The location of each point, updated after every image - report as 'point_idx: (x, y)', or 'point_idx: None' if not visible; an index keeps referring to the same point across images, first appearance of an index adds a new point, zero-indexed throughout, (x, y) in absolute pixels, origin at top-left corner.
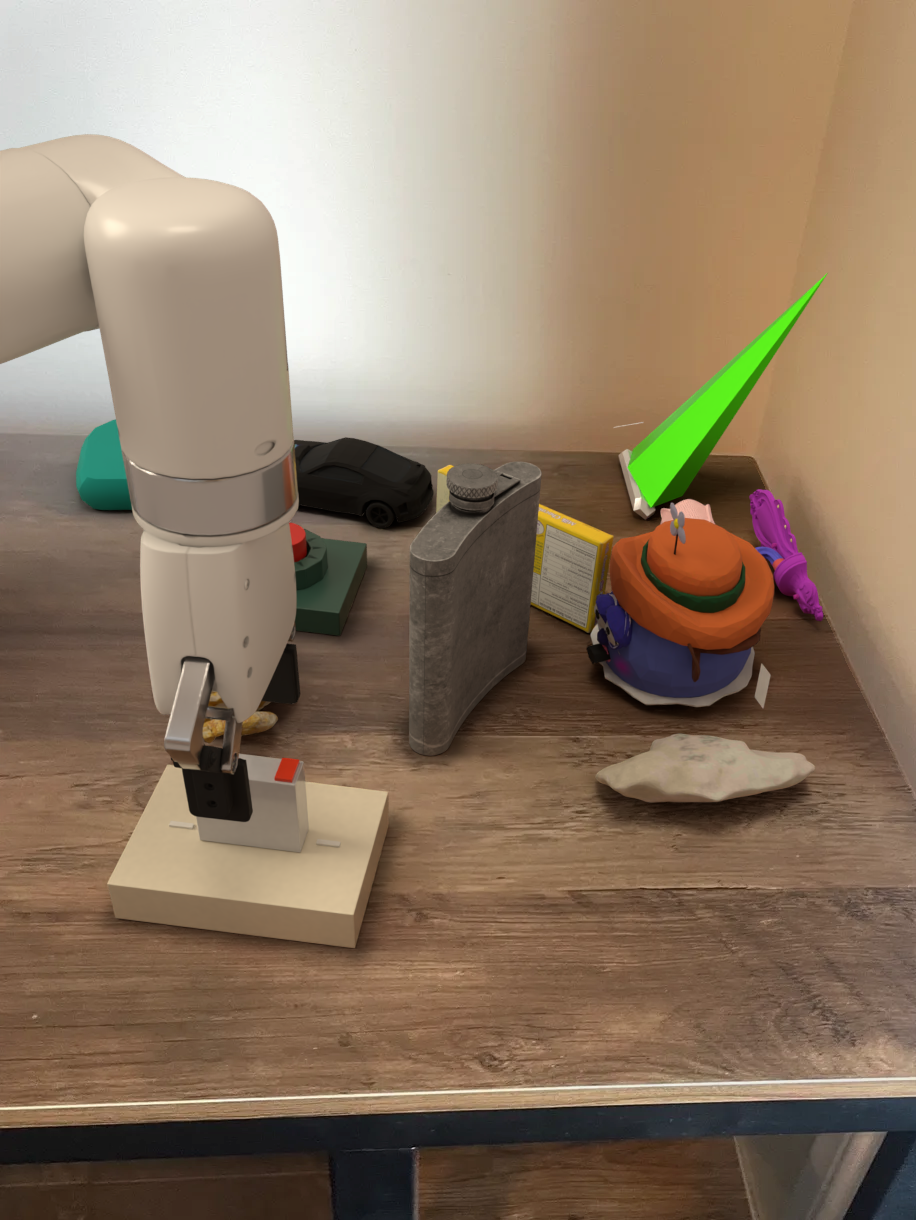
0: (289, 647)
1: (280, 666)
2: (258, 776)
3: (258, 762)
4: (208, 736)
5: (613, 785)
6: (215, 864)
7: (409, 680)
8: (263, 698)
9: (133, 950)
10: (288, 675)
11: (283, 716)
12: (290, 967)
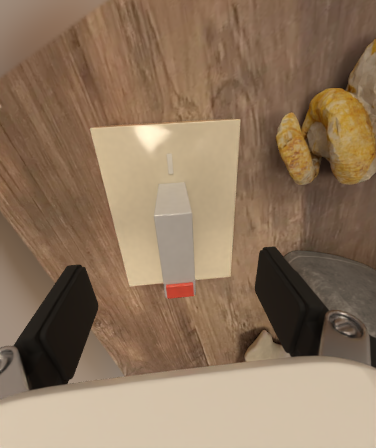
0: (297, 356)
1: (278, 324)
2: (167, 271)
3: (185, 266)
4: (278, 144)
5: (248, 354)
6: (139, 203)
7: (324, 287)
8: (259, 266)
9: (83, 151)
10: (271, 318)
11: (323, 169)
12: (110, 242)
